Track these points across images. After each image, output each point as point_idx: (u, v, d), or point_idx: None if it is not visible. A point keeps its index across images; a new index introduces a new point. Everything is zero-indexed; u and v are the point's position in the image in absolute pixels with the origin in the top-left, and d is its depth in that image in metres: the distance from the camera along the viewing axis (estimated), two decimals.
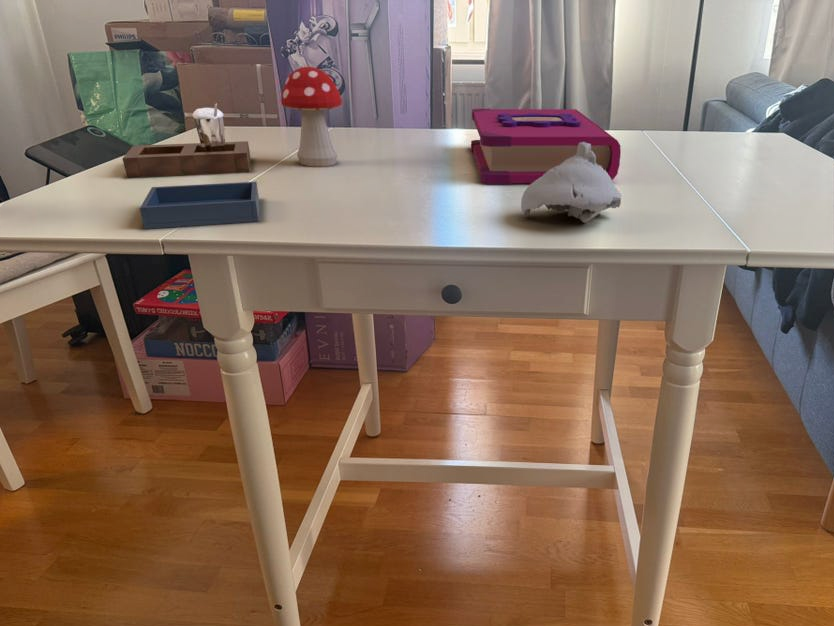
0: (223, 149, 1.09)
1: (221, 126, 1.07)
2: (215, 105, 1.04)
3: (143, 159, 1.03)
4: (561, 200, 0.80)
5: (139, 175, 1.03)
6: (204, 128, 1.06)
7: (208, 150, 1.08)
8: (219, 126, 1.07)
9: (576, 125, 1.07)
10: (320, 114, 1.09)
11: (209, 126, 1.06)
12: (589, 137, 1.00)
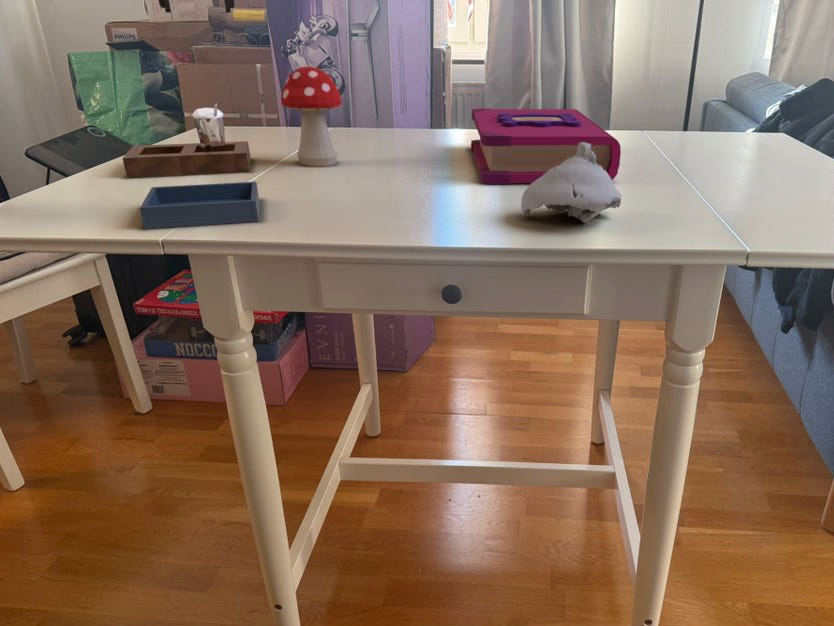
0: (223, 149, 1.09)
1: (221, 126, 1.07)
2: (215, 105, 1.04)
3: (143, 159, 1.03)
4: (561, 200, 0.80)
5: (139, 175, 1.03)
6: (204, 128, 1.06)
7: (208, 150, 1.08)
8: (219, 126, 1.07)
9: (576, 125, 1.07)
10: (320, 114, 1.09)
11: (209, 126, 1.06)
12: (589, 137, 1.00)
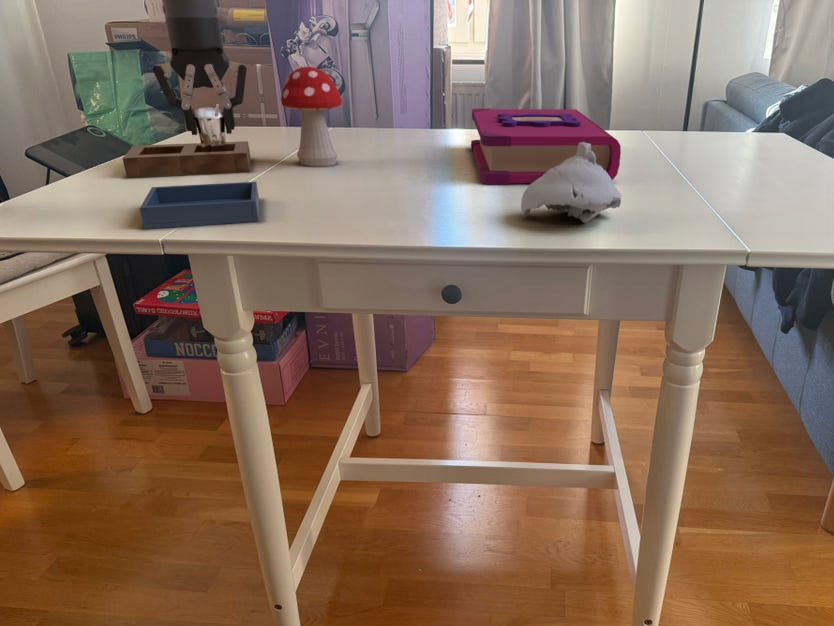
0: (223, 149, 1.09)
1: (222, 126, 1.07)
2: (217, 105, 1.04)
3: (143, 159, 1.03)
4: (561, 200, 0.80)
5: (139, 175, 1.03)
6: (205, 128, 1.06)
7: (208, 150, 1.08)
8: (220, 126, 1.07)
9: (576, 125, 1.07)
10: (320, 114, 1.09)
11: (210, 126, 1.06)
12: (589, 137, 1.00)
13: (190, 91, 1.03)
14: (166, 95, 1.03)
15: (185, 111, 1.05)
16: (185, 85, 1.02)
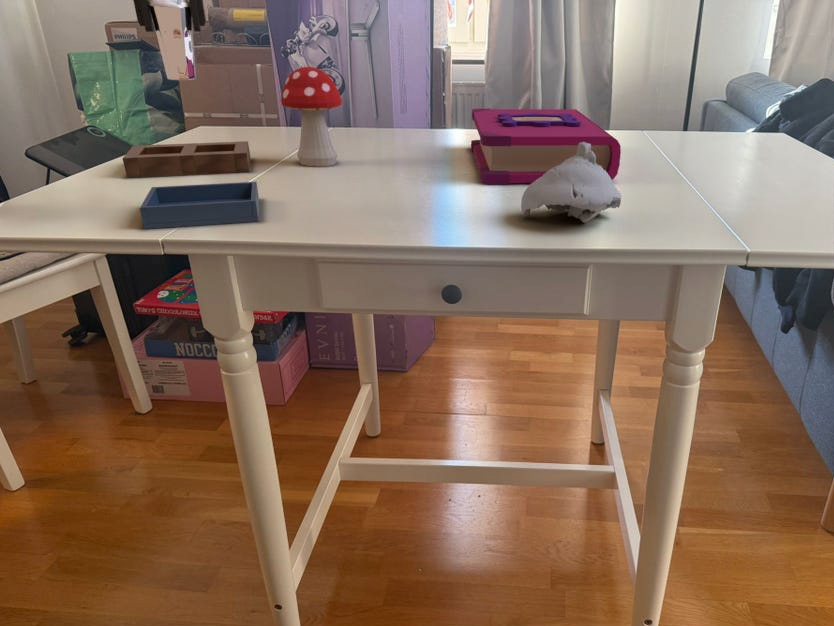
0: (190, 54, 0.80)
1: (188, 20, 0.78)
2: None
3: (143, 159, 1.03)
4: (561, 200, 0.80)
5: (139, 175, 1.03)
6: (164, 20, 0.77)
7: (169, 53, 0.79)
8: (185, 20, 0.78)
9: (576, 125, 1.07)
10: (320, 114, 1.09)
11: (171, 18, 0.77)
12: (589, 137, 1.00)
13: None
14: None
15: None
16: None
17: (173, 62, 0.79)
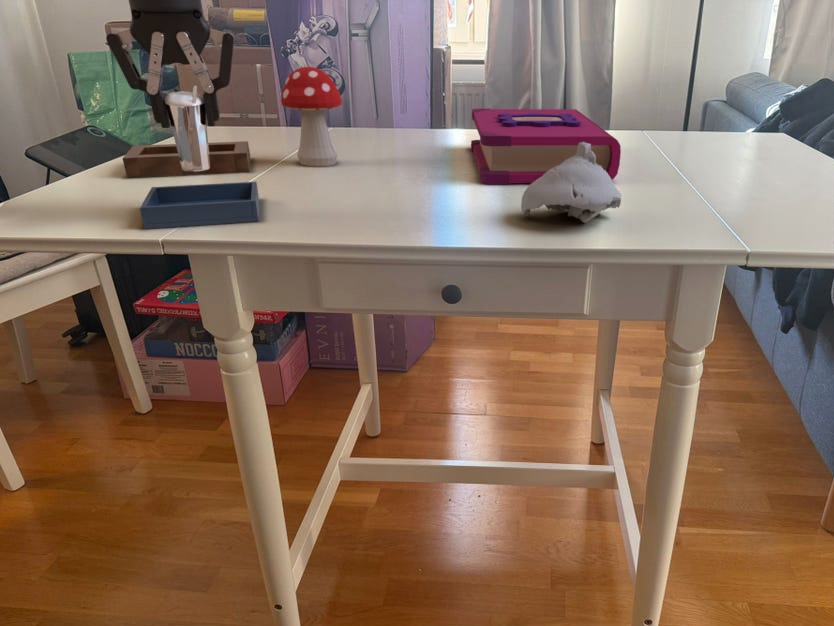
0: (204, 147, 0.83)
1: (202, 116, 0.81)
2: (194, 88, 0.78)
3: (143, 159, 1.03)
4: (561, 200, 0.80)
5: (139, 175, 1.03)
6: (180, 118, 0.80)
7: (184, 148, 0.82)
8: (199, 116, 0.81)
9: (576, 125, 1.07)
10: (320, 114, 1.09)
11: (186, 116, 0.80)
12: (589, 137, 1.00)
13: (158, 69, 0.77)
14: (126, 74, 0.76)
15: (152, 96, 0.79)
16: (151, 60, 0.76)
17: (188, 155, 0.82)
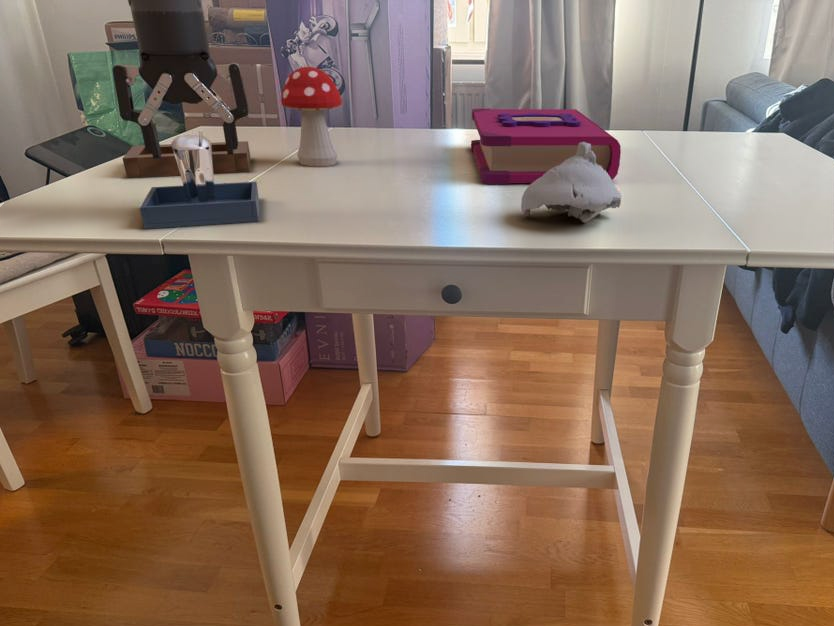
0: (211, 187, 0.85)
1: (208, 158, 0.83)
2: (200, 132, 0.80)
3: (143, 159, 1.03)
4: (561, 200, 0.80)
5: (139, 175, 1.03)
6: (186, 161, 0.82)
7: (192, 189, 0.84)
8: (206, 158, 0.83)
9: (576, 125, 1.07)
10: (320, 114, 1.09)
11: (192, 159, 0.82)
12: (589, 137, 1.00)
13: (156, 105, 0.78)
14: (120, 105, 0.78)
15: (143, 127, 0.80)
16: (152, 96, 0.78)
17: (195, 196, 0.84)
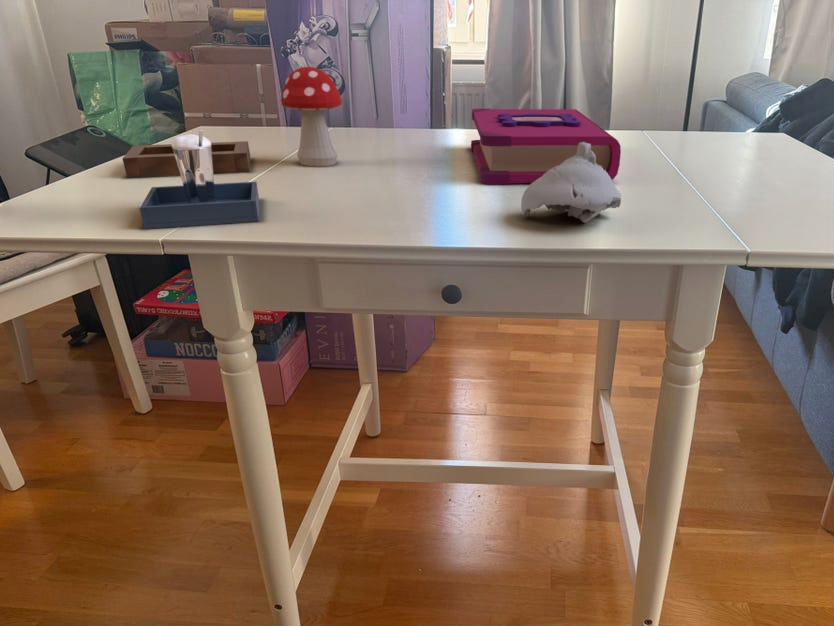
0: (211, 187, 0.85)
1: (208, 158, 0.83)
2: (200, 132, 0.80)
3: (143, 159, 1.03)
4: (561, 200, 0.80)
5: (139, 175, 1.03)
6: (186, 161, 0.82)
7: (192, 189, 0.84)
8: (206, 158, 0.83)
9: (576, 125, 1.07)
10: (320, 114, 1.09)
11: (192, 159, 0.82)
12: (589, 137, 1.00)
13: None
14: None
15: None
16: None
17: (195, 196, 0.84)
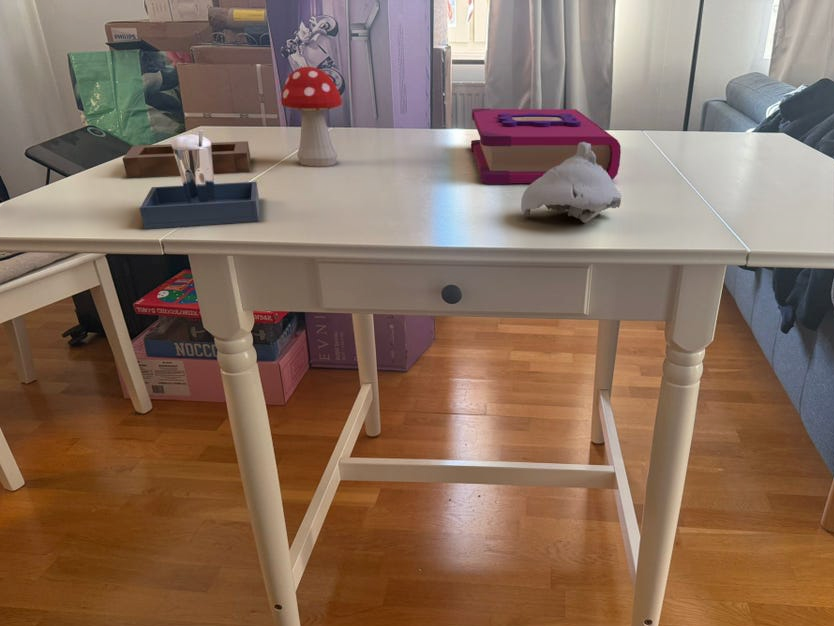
0: (211, 187, 0.85)
1: (208, 158, 0.83)
2: (200, 132, 0.80)
3: (143, 159, 1.03)
4: (561, 200, 0.80)
5: (139, 175, 1.03)
6: (186, 161, 0.82)
7: (192, 189, 0.84)
8: (206, 158, 0.83)
9: (576, 125, 1.07)
10: (320, 114, 1.09)
11: (192, 159, 0.82)
12: (589, 137, 1.00)
13: None
14: None
15: None
16: None
17: (195, 196, 0.84)
